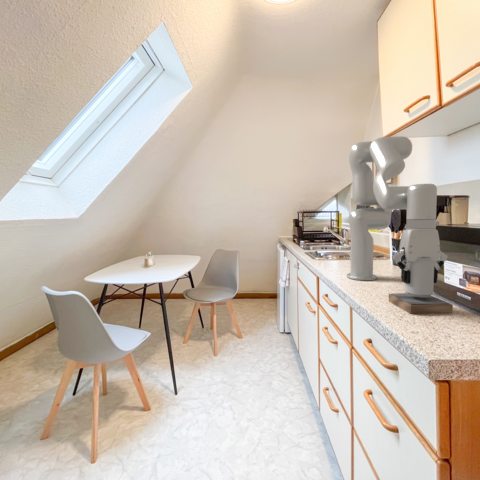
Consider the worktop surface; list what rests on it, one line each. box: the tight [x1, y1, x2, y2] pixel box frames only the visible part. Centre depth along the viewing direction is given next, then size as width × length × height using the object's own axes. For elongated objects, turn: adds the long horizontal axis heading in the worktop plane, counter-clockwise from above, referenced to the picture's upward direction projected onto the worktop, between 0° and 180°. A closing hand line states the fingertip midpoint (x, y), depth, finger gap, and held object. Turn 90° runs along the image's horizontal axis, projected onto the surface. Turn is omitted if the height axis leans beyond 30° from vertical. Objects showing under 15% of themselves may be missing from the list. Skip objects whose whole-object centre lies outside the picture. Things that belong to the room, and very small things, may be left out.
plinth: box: [388, 292, 454, 315], centre depth 86 cm, size 12×12×3 cm
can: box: [404, 258, 435, 297], centre depth 85 cm, size 8×8×12 cm
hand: (418, 282), depth 85 cm, fingers closed on can, 7 cm apart
